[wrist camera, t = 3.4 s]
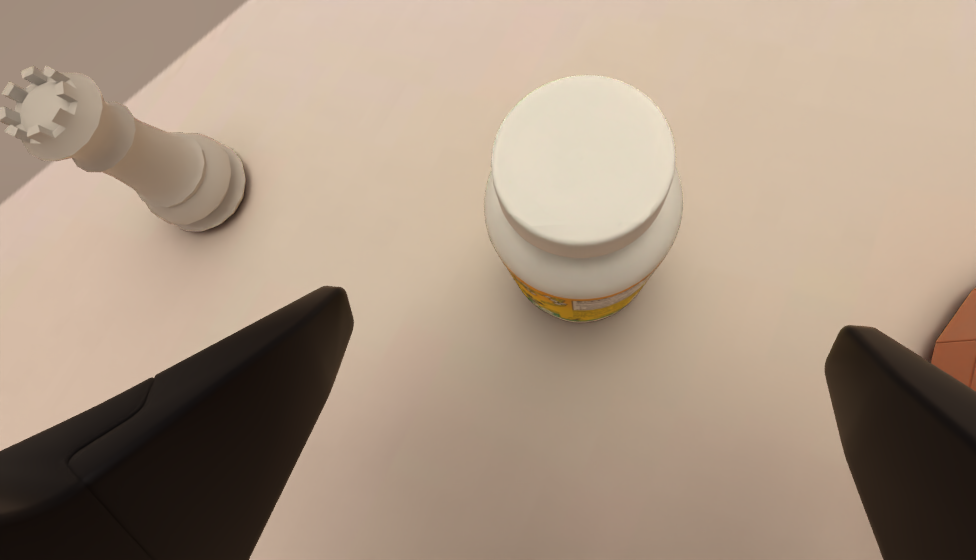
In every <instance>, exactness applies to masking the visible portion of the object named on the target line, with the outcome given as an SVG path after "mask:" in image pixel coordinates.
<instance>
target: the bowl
mask: <svg viewBox="0 0 976 560" xmlns="http://www.w3.org/2000/svg"><path fill="white" fill-rule="evenodd" d="M931 363H932V364H933V365H935V366H936V367H938V368H939V369H941V370H943V371H944V372H946V373H947V374H949V375H951V376H952V377H954V378H955V379H957V380H959V381H960V382H962V383H963V384H965V385H967V386H968V387H970V388H971V389H973V390H974V391H976V288H974V289H973V290H972V291H971V292H970V294H969V295H968V297H967V298H966V299H965V301H964V302H963V304H962V305H961V306H960V308H959V309H958V311H957V312H956V314H955V315H954V316H953V318H952V319H951V321H950V322H949V323H948V325H947V326H946V328H945V329H944V331H943V332H942V333H941V335H940V336H939V338H938V339H937V341H936V344H935V347H934V351H933V355H932V360H931Z"/></svg>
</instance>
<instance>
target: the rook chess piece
mask: <svg viewBox="0 0 976 560" xmlns="http://www.w3.org/2000/svg"><path fill="white" fill-rule="evenodd" d="M21 74H22V77H23V78H24V79H26V80H28V81H30V82H31V84H30V85H29V86H28V87H27V88H26V89H24V88H22V87H20V86H18V85H16V84H14V83H12V82H9V83H8V84H7V86H6V88H5V89H4V91H3V92H2V95H5V96H6V97H9V98H10V99H13V100H15V101H17V103H16V106H15V110H12V109H9V108H7V107H0V122H2V123H4V124H7V125H9V126H8V128H7V129H6V130H5V132H7V133H9V134H10V135H12V136H14V137H16V138H18V139H21V140H22V142H23V144H24V145H25V147H26V149H27V151H28V152H29V153H30V154H31V155H33V156H35V157H36V158H38V159H40V160H42V161H59V160H64V159H69V158H72V159H73V160H74V162H75V164H76V165H77V166H78V167H80V168H81V169H83V170H85V171H87V172H103V173H106V174H108V175H110V176H113V177H115V178H116V179H118V180H120V181H121V182H123V183H125V184H126V185H128V186H130V187H131V188H133V189H134V190H135V191H136V192H137V193H138V195H139V196H140V198H141V199H142V201H144V202H145V203H146V204H147V206H148V207H149V209H150V211H151V212H152V213H154V214H155V215H156V216H157V217H159V218H161V219H163V220H164V221H166V222H168V223H170V224H174V225H176V226H177V227H179V228H181V229H183V230H184V231H199V232H202V231H204V230H207V229H210V228H213V227H215V226H218V225H220V224H221V223H223V222H224V221H225V220H227V219H228V218H229V217H230V216H231V215H232V214H234V213H235V211H236V210H237V208H238V206H239V204H240V203H241V201H242V199H243V196H244V190H245V185H246V180H245V174H244V169H243V164H242V161H241V160H240V158H239V157H238V156H237V154H236V153H235V152H234V150H233V149H231V148H229V147H227V146H225V145H223V144H221V143H219V142H218V141H216V140H214V139H212V138H209V137H207V136H205V135H202V134H198V133H180V132H165V131H163V130H161V129H158V128H156V127H153V126H151V125H148V124H146V123H143V122H141V121H139V120H138V119H136V118H134V117H133V115H132V114H131V112H130V111H129V109H128V108H127V107H126V106H124V105H122V104H120V103H118V102H105V101H104V98H103V96H102V94H101V91H100V90H99V88H98V87H97V85H96V84H95V82H94V81H93V79H91V78H89V77H87V76H85V75H83V74H81V73H59V72H57V71H56V70H53V69H52V68H50V67H48V66H46V67H45V69H44V71H42V70H40V69H38V68H36V67H35V66H32V67H30V68H27V69H25V70H23V71H21Z"/></svg>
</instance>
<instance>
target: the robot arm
mask: <svg viewBox="0 0 976 560" xmlns="http://www.w3.org/2000/svg"><path fill="white" fill-rule="evenodd" d="M353 326H354V320H353V315H352V312H351V308H350V304H349V301H348V297H347V294H346V291H345V290H344V289H343V288H341V287H332V286H323V287H321V288H319V289H317V290H315V291H313V292H311V293H309V294H307V295H305V296H304V297H302V298H300V299H298V300H296V301H294V302H292V303H290V304H289V305H287V306H285V307H283V308H281V309H279V310H277V311H275V312H273V313H272V314H270V315H268V316H266V317H264V318H262V319H260V320H258V321H257V322H255V323H253V324H251V325H249V326H247V327H245V328H243V329H241V330H240V331H238V332H236V333H234V334H232V335H230V336H228V337H226V338H225V339H223V340H221V341H219V342H217V343H215V344H213V345H211V346H209V347H208V348H206V349H204V350H202V351H200V352H198V353H196V354H194V355H193V356H191V357H189V358H187V359H185V360H183V361H181V362H179V363H177V364H176V365H174V366H172V367H170V368H168V369H166V370H164V371H162V372H161V373H159V374H157V375H156V376H155V378H149V379H147V380H145V381H143V382H142V383H140V384H138V385H136V386H134V387H132V388H130V389H128V390H126V391H125V392H123V393H121V394H119V395H117V396H115V397H113V398H111V399H109V400H107V401H105V402H103V403H101V404H99V405H97V406H95V407H93V408H91V409H89V410H87V411H85V412H83V413H81V414H78V415H76V416H74V417H72V418H70V419H68V420H66V421H64V422H62V423H60V424H57V425H55V426H53V427H51V428H49V429H47V430H45V431H42V432H40V433H38V434H36V435H34V436H32V437H30V438H27V439H25V440H23V441H21V442H19V443H17V444H15V445H12V446H10V447H8V448H6V449H4V450H2V451H0V560H249V558H250V556H251V554H252V552H253V550H254V548H255V546H256V544H257V542H258V540H259V538H260V536H261V534H262V532H263V530H264V527H265V525H266V523H267V521H268V519H269V517H270V515H271V513H272V511H273V509H274V507H275V505H276V503H277V501H278V499H279V497H280V495H281V493H282V491H283V489H284V487H285V485H286V483H287V481H288V478H289V476H290V474H291V472H292V470H293V468H294V466H295V464H296V462H297V460H298V458H299V456H300V454H301V452H302V450H303V448H304V446H305V444H306V442H307V440H308V438H309V436H310V434H311V432H312V430H313V427H314V425H315V423H316V421H317V419H318V417H319V415H320V413H321V411H322V409H323V407H324V405H325V403H326V401H327V399H328V396H329V394H330V392H331V389H332V387H333V384H334V381H335V379H336V376H337V373H338V370H339V367H340V365H341V362H342V359H343V356H344V353H345V351H346V348H347V345H348V342H349V339H350V337H351V334H352V331H353ZM825 376H826V380H827V384H828V389H829V393H830V397H831V401H832V405H833V410H834V414H835V418H836V422H837V426H838V430H839V435H840V439H841V443H842V446H843V450H844V454H845V457H846V460H847V463H848V466H849V468H850V471H851V474H852V477H853V479H854V482H855V485H856V487H857V490H858V493H859V495H860V498H861V501H862V503H863V506H864V509H865V511H866V514H867V517H868V519H869V522H870V525H871V527H872V530H873V533H874V535H875V538H876V541H877V543H878V546H879V549H880V551H881V554H882V557H883V559H884V560H976V391H974V390H973V389H971V388H970V387H968V386H967V385H965V384H963V383H962V382H960V381H959V380H957V379H955V378H954V377H952V376H951V375H949V374H947V373H946V372H944V371H943V370H941V369H939V368H938V367H936V366H935V365H933V364H932V363H930V362H928V361H927V360H925V359H924V358H922V357H920V356H919V355H917V354H916V353H914V352H912V351H911V350H909V349H908V348H906V347H905V346H903V345H901V344H900V343H898V342H897V341H895V340H893V339H892V338H890V337H889V336H887V335H885V334H884V333H882V332H881V331H879V330H877V329H876V328H873V327H866V326H852V325H848V326H845V327H843V328H842V329H841V330H840V332H839V334H838V336H837V338H836V340H835V342H834V344H833V346H832V349H831V351H830V353H829V355H828V357H827V359H826V362H825Z"/></svg>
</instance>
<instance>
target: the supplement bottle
mask: <svg viewBox="0 0 976 560" xmlns="http://www.w3.org/2000/svg"><path fill="white" fill-rule="evenodd" d="M682 211H683V193H682V186H681V181H680V177H679V174H678V170H677V168H676V151H675V143H674V138H673V134H672V131H671V129H670V126H669V124H668V122H667V120H666V118H665V117H664V115H663V113H662V112H661V110H660V109H659V108H658V106H657V105H656V104H655V103H654V102H653V101H652V100H651V99H650V98H649V97H648V96H647V95H645V94H644V93H642V92H641V91H640V90H638V89H637V88H635V87H633V86H631V85H629V84H627V83H625V82H622V81H619V80H616V79H614V78H609V77H605V76H598V75H579V76H570V77H565V78H561V79H558V80H554V81H551V82H549V83H547V84H545V85H543V86H541V87H539V88H537V89H535V90H534V91H532V92H530V93H529V94H527V95H526V96H525V97H524V98H523V99H522V100H521V101H519V102H518V103H517V104H516V105H515V106H514V107H513V108H512V110H511V111H510V112H509V113H508V115H507V116H506V117H505V119H504V120H503V122H502V124H501V126H500V128H499V130H498V132H497V135H496V138H495V141H494V144H493V148H492V157H491V172H490V175H489V178H488V181H487V186H486V190H485V198H484V213H485V221H486V226H487V230H488V234H489V237H490V240H491V242H492V244H493V246H494V248H495V250H496V252H497V254H498V255H499V257H500V258H501V260H502V262H503V263H504V265H505V266H506V268H507V269H508V270H509V272H510V273H511V275H512V277H513V278H514V280H515V281H516V283H517V284H518V286H519V288H520V289H521V290H522V292H523V293H524V295H525V296H526V297H527V298H528V299H529V300H530V301H531V302H532V303H533V304H534V305H536V306H537V307H538V308H540V309H541V310H543V311H545V312H546V313H548V314H550V315H552V316H554V317H557V318H559V319H562V320H566V321H570V322H591V321H597V320H600V319H603V318H606V317H609V316H611V315H613V314H615V313H616V312H618V311H619V310H621V309H622V308H624V307H625V306H626V305H627V304H628V303H630V302H631V301H632V300H633V299H634V298H635V297H636V295H637V294H638V293H639V292H640V290H641V289H642V287H643V286H644V284H645V283H646V282H647V280H648V279H649V278H650V277H651V275H652V274H653V273H654V271H655V270H656V269H657V267H658V266H659V265H660V263H661V262H662V261H663V259H664V258H665V256H666V255H667V253H668V251H669V250H670V248H671V246H672V244H673V242H674V240H675V238H676V235H677V233H678V230H679V227H680V223H681V219H682Z"/></svg>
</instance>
